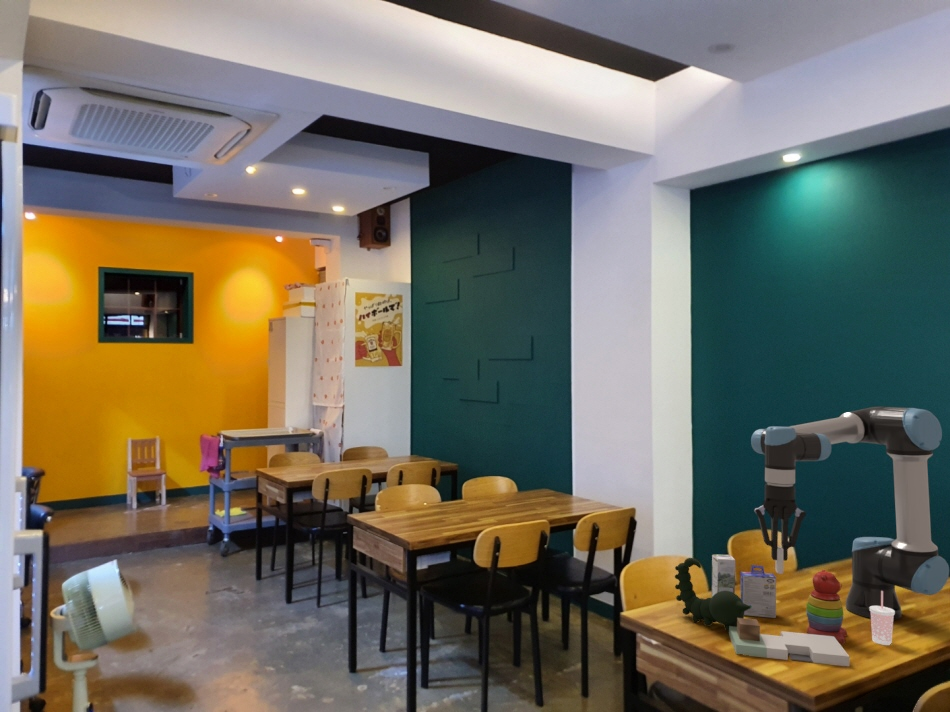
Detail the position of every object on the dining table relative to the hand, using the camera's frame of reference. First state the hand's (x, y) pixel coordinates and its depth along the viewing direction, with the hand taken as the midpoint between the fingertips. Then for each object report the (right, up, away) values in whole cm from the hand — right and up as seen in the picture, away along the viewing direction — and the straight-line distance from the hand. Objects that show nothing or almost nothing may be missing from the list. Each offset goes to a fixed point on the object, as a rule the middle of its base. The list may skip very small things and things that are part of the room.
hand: (779, 572), depth 185 cm
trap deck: (+1, -20, -1) cm, 20 cm away
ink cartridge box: (+5, -22, +26) cm, 35 cm away
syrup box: (-1, -22, +38) cm, 44 cm away
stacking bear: (+18, -21, +10) cm, 29 cm away
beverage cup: (+31, -22, +6) cm, 38 cm away
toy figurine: (-12, -21, +16) cm, 29 cm away
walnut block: (-8, -18, +1) cm, 19 cm away
